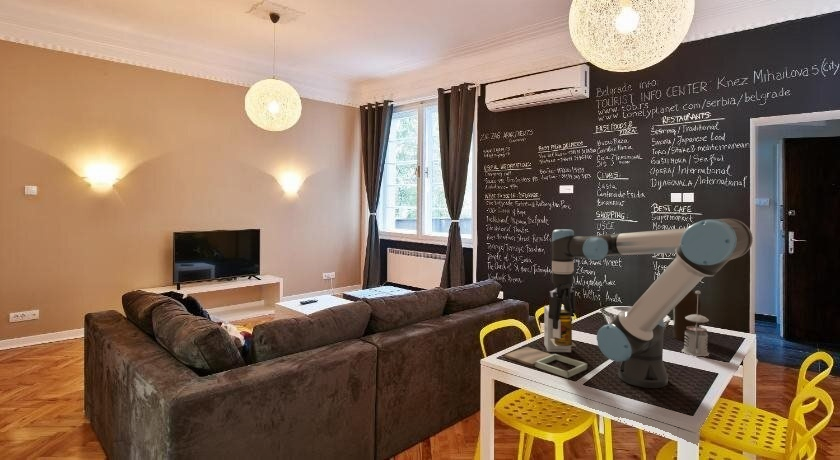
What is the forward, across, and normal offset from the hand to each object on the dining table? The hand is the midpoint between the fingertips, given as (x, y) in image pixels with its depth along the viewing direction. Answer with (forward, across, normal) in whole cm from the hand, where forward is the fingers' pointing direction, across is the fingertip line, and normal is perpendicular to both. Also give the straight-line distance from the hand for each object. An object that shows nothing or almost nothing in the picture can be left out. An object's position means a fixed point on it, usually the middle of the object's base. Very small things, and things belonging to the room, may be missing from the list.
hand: (562, 335), depth 166 cm
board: (+12, 0, -14) cm, 19 cm away
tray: (+12, 0, 0) cm, 12 cm away
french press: (+13, -53, +26) cm, 60 cm away
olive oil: (+12, -70, +16) cm, 73 cm away
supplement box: (+12, -17, -14) cm, 25 cm away
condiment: (+3, -1, 0) cm, 3 cm away
